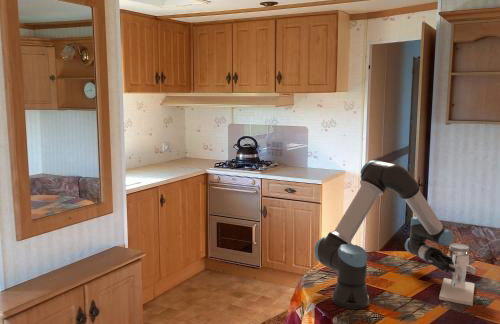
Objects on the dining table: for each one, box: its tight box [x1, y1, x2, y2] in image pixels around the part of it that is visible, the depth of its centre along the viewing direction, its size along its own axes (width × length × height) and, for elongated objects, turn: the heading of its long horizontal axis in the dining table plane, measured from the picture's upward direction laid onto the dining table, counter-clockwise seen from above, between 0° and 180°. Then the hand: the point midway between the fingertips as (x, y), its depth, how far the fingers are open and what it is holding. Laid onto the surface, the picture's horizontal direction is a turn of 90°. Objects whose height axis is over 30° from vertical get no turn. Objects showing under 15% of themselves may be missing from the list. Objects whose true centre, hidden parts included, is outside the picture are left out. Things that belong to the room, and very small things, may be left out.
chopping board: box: [438, 277, 475, 306], centre depth 209 cm, size 22×13×2 cm, turn 153°
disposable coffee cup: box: [448, 242, 471, 256], centre depth 235 cm, size 10×10×12 cm
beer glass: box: [450, 251, 470, 289], centre depth 207 cm, size 7×7×15 cm
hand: (467, 272), depth 202 cm, fingers closed on beer glass, 6 cm apart
